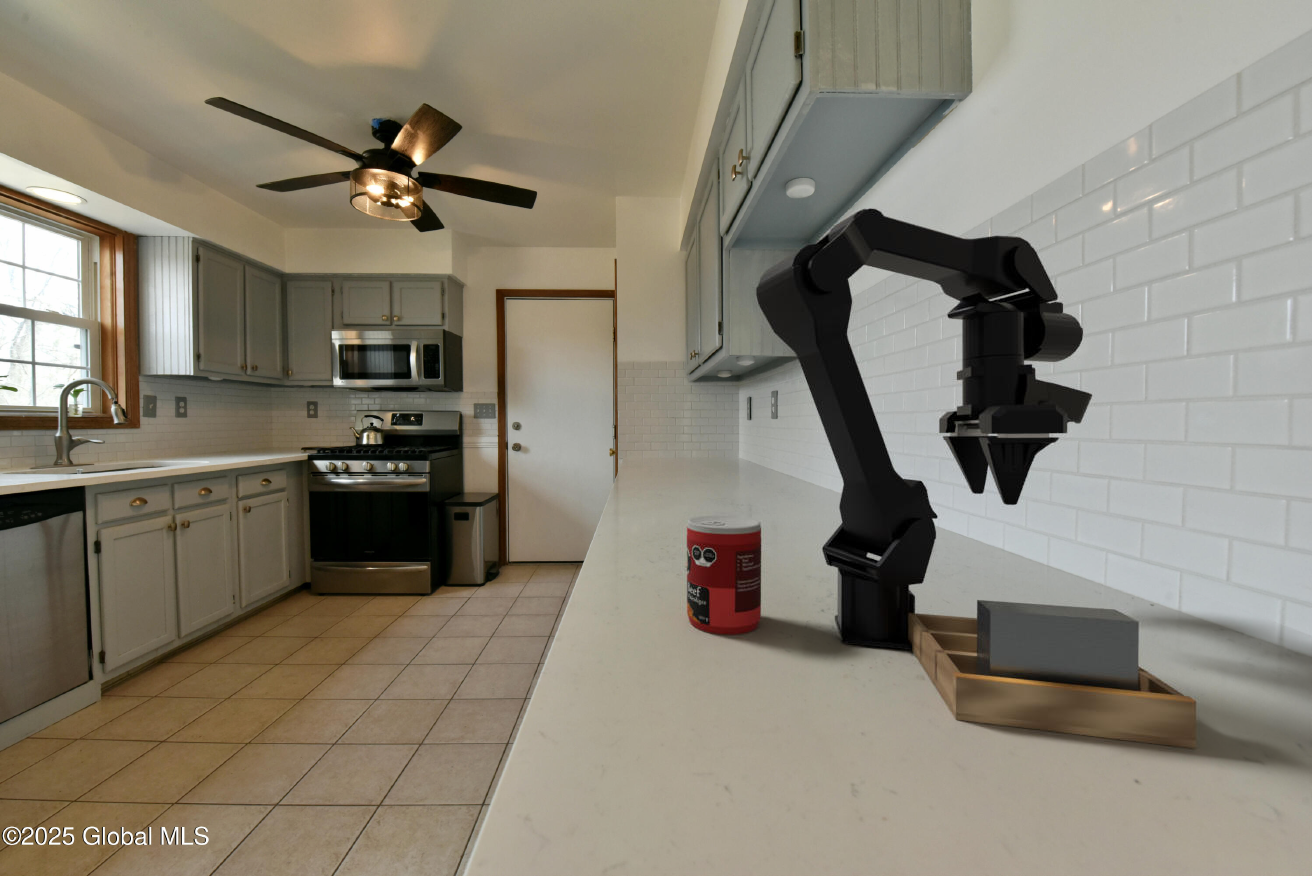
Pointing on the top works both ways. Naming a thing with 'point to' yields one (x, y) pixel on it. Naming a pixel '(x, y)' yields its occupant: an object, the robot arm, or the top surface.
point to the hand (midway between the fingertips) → (992, 498)
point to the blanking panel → (1057, 644)
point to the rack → (1045, 693)
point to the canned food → (724, 574)
